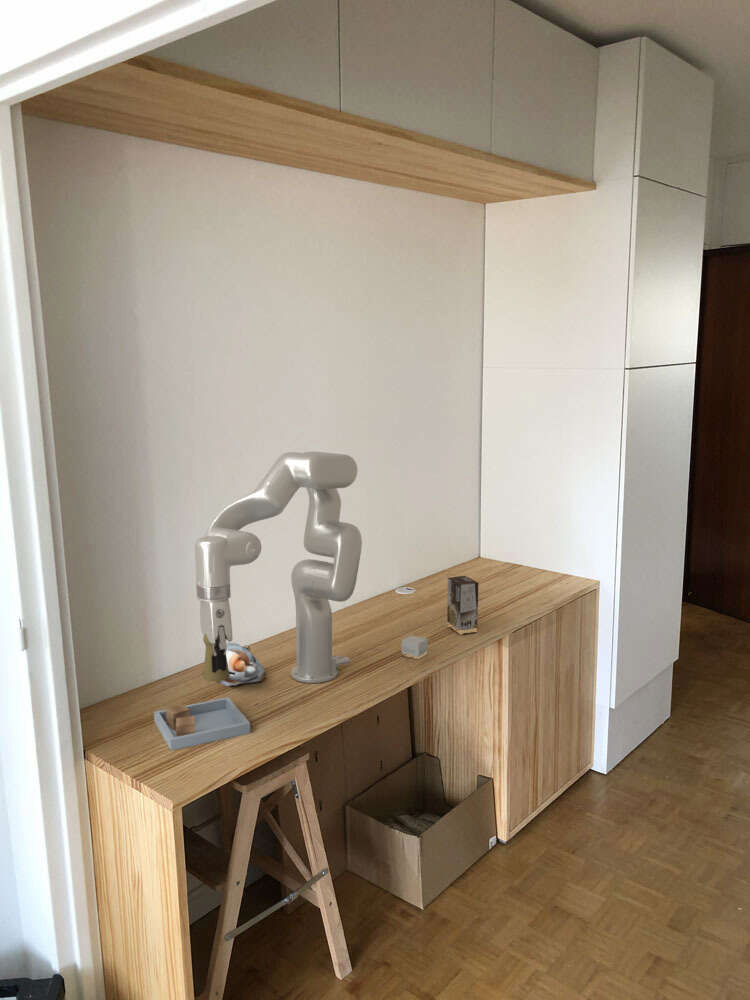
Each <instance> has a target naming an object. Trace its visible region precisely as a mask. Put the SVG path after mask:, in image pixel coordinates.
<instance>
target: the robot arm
mask: <svg viewBox="0 0 750 1000" xmlns="http://www.w3.org/2000/svg"><path fill="white" fill-rule="evenodd" d="M357 477H358V465H357V462H356V461H355V459H354V458H353V457H352V456H351V455H348V454H344V453H343V454H342V453H332V452H323V451H307V452H297V451H287V452H284V453H283V454H281V455H280V456H279V457H278V458H277V459H276V460H275V462H274V463H273V465H272V466H271V467H270V469H269V470H268V472H267V473H266V474H265V476H264V477H263V478H262V480H261V481H260V482H259V483H258V485H257V486H256V488H255V489H254V490H253V491H252V492H250V493H249V494H247V495H245V496H243V497H241V498H240V499H238V500H236V501H235V502H233V503H231V504H230V505H228V506H226V507H225V508H224V509H222V511H221V512H219V514H217V515H216V517H214V520H213V521H212V523H211V524H210V525H209V527H208V528H207V529H206V532H205V534H204V536H202V537H199V538H198V539H196V540H195V544H194V557H195V558H194V559H195V581H196V582H195V583H196V584H195V585H196V586H195V587H196V600H197V601H199V606H200V608H199V610H200V611H199V613H200V614H199V616H200V618H199V619H200V630H201V634H202V635H203V636H204V634H206V636H207V638H208V640H209V642H211V643H212V650H213V655H211V658H212V672H213V673H215V672H217V670H220V669H221V670H222V671H225V670H226V649H227V645H226V644H227V641H228V643H232V641H233V625H232V614H231V606H230V601H229V599H230V598H231V571H230V570H231V569H230V568H231V567H233V566H242V565H249V564H251V563H253V562H255V561H256V560H257V559H258V558H259V556H260V554H261V552H262V543H261V540H260V538H259V537H258V536H257V535H255V534H254V533H251V532H248V531H243V530H241V529H243V528H244V527H246V526H247V525H250V524H253V523H256V522H259V521H264V520H267V519H271V518H274V517H277V516H279V515H280V514H282V513H283V512H284V511H285V509H286V507H287V506H288V504H289V503H290V501H291V500H292V498H293V497H294V496H295V494H296V493H297V491H298V490H300V488H305V489H306V492H307V494H308V502H309V503H308V510H307V511H308V512H307V517H306V521H305V527H304V533H303V547H304V549H305V551H307V552H308V553H310V554H313V555H316V556H321V557H327V558H333V562H329V561H325V560H324V561H323V560H318V559H303V560H300V561H298V562H297V563H296V564H295V565H294V567H293V569H292V571H291V575H290V580H291V581H290V582H291V587H292V591H293V595H294V596H293V597H294V601H295V603H294V604H295V630H296V631H295V632H296V634H295V635H296V643H295V644H296V665H295V666H294V667H292V669H291V670H290V674H291V675H290V676H291V677H292V679H294V680H295V681H298V682H301V683H307V684H308V683H309V684H319V683H320V682H321V683H325V681H326V682H329V681H332V680H333V679H335V678H337V677H338V674H339V668H338V667H339V666H341V665H348V664H349V663H350V658H349V656H343V657H341V655H335V656H333V613H332V607H331V604H330V601H332V602H338V603H339V602H341V603H342V602H345V601H348V600H349V599H350V598H351V597H352V596H353V593H354V591H355V588H356V583H357V580H358V579H357V578H358V572H359V567H360V560H361V554H362V548H363V539H362V534H361V531H360V529H359V528H358V527H357V526H356V525H354V524H352V523H349V522H342V521H340V518H341V517H340V516H341V510H342V499H341V496H340V493H339V491H338V489H344V488H345V489H346V488H347V487H350V486H351V485H352V484H353V483H354V482H355V481H356V478H357ZM224 634H225V635H226V636H225V635H224ZM225 638H226V640H225ZM217 639H219V642H216V641H215V640H217ZM204 645H205V644H204ZM216 645H219V647H217V648H216ZM205 647H206V645H205Z"/></svg>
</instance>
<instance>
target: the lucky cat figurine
mask: <svg viewBox="0 0 750 1000" xmlns="http://www.w3.org/2000/svg"><path fill="white" fill-rule="evenodd" d="M226 645H227V649H226V657H227V663H228V669H229V675H230V676H229V678H228V679H226V680H223V681H217V682H216V683H218V684H221V685H222V686H225V687H231V686H237V685H239V684H242V685H243V684H249V683H255V682H256V683H257V682H263V680H264V678H265V676H266V669H265V667H264V666H263V665H262V663H260V661H259V660H258V658H257V657H256V655H255V654H254V653H253V652H251V650H250V646H249V645H244V646H243V645H240V644H239V643H235V642H226Z"/></svg>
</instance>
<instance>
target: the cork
mask: <svg viewBox="0 0 750 1000" xmlns="http://www.w3.org/2000/svg"><path fill="white" fill-rule="evenodd" d="M224 635H225V634H224ZM225 636H226V635H225ZM202 638H203V644H204V645H206V646H205V655H204V665H203V675H202V678H203V680H204V681H206V682H211V683H212V682H215V683H218V682H217V681H223V680H226V679H228V678H229V676H230V675H229V669H228V663H227V657H226V670H225V671H222V670H221V669H220V670H217V672H215V673H213V672H212V658H211V655H213V650H212V643H211V642H209V640H208V638H207V636H206V634H204V635H203V637H202ZM225 640H226V641H227V639H226V638H225ZM215 641H216V642H219V639H217V640H215ZM217 647H219V645H216V648H217Z"/></svg>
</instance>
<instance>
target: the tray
mask: <svg viewBox="0 0 750 1000" xmlns="http://www.w3.org/2000/svg"><path fill="white" fill-rule="evenodd" d="M184 706H185V707H187V708H188V709H189V712H190V717H192V716H195V733H192V734H188V735H183V736H178V737H177V734H176V730H173V729H171V728H170V727H169V726H168V725H167V720H166V708H165V709H161V710H156V711H153V719H154V723H155V725H156V727H157V728H158V730H159V732H160V733H161V736H162V738H163V739H164V741H165V743H166V745H167V746H168V748H169V750H170V752H171V751H177V750H181V749H185V748H190V747H196V746H198V745H199V746H200V745H203V744H207V743H208V744H209V743H212V742H218V741H222V740H226V739H231V738H235V737H239V736H245V735H248V734H251V723H250V721H249V720H248V719H247V718H246V716H245V715H244V714H243V712H241V710H240V709H239V708H238V706H237V705H236V704H235V703H234V701H232V699H231V698H230V697H229V696H227V697H221V698H217V699H212V700H207V701H201V702H196V703H192V704H191V703H190V704H188V705H187V704H186V705H184Z"/></svg>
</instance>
